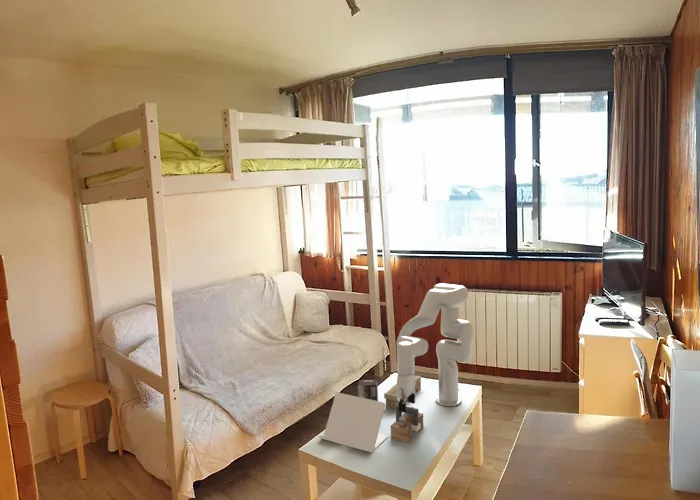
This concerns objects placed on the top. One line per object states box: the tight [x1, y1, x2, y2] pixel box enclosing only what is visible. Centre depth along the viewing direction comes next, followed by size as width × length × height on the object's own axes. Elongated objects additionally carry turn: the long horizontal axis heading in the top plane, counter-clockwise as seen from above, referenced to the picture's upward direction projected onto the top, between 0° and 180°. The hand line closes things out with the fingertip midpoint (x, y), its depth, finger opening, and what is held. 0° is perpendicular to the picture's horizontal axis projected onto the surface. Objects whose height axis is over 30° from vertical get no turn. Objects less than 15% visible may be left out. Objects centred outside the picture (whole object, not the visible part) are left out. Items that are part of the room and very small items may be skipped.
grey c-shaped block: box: [394, 405, 421, 432], centre depth 231 cm, size 4×11×9 cm, turn 60°
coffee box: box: [357, 379, 379, 401], centre depth 250 cm, size 9×6×16 cm
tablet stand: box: [318, 392, 389, 453], centre depth 227 cm, size 18×25×17 cm
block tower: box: [383, 374, 422, 410], centre depth 267 cm, size 8×8×29 cm
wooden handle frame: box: [390, 406, 424, 444], centre depth 231 cm, size 17×8×10 cm, turn 149°
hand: (406, 407), depth 230 cm, fingers open, 9 cm apart
